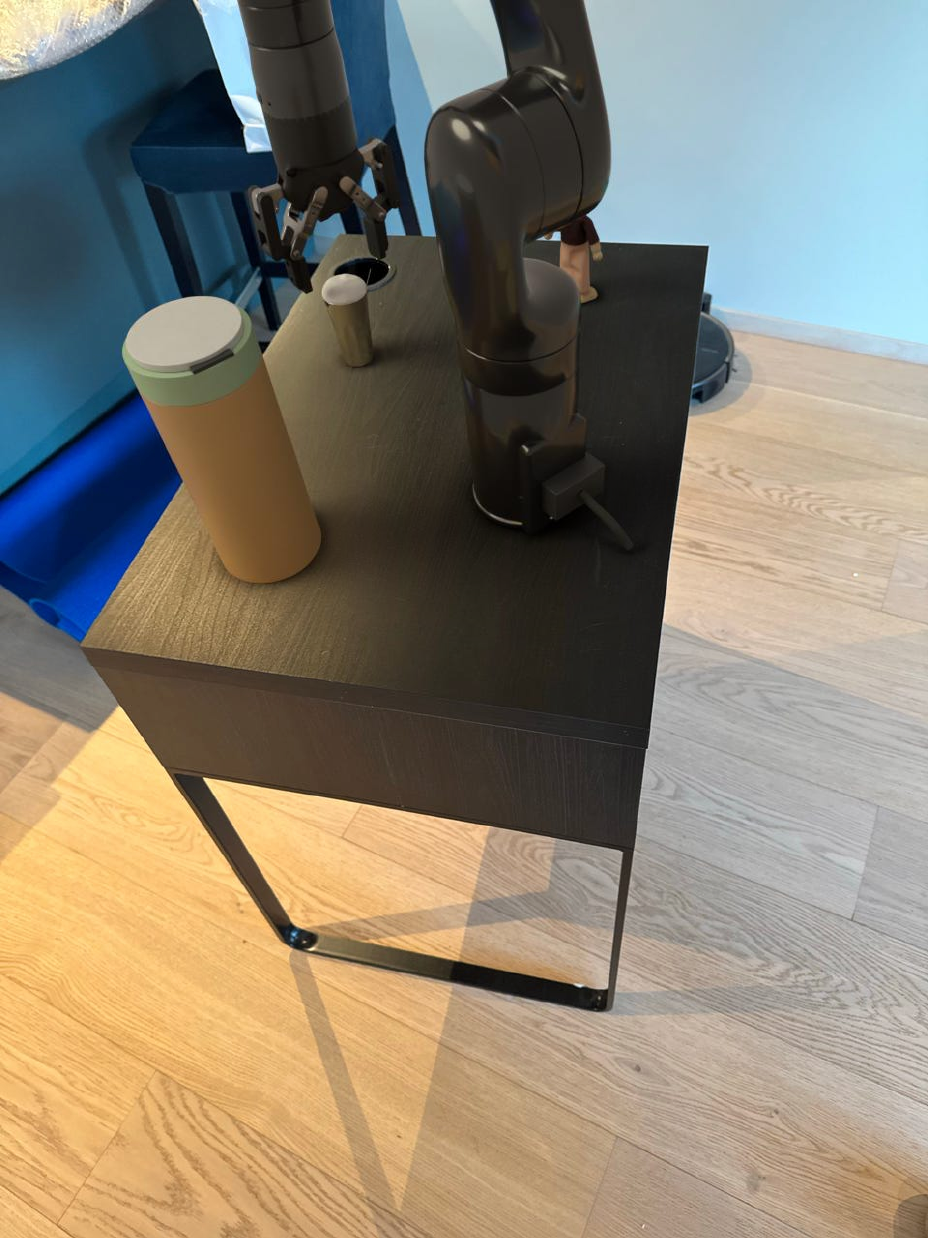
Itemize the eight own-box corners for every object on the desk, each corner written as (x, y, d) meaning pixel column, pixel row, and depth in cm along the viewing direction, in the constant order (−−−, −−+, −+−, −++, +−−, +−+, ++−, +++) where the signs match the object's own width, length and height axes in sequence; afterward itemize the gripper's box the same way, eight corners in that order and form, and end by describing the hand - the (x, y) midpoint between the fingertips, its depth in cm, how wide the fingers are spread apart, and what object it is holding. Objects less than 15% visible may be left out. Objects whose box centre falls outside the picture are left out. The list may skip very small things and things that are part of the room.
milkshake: (385, 369, 89) (368, 282, 81) (335, 372, 89) (314, 286, 81) (388, 343, 91) (372, 256, 83) (340, 346, 92) (320, 260, 84)
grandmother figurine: (611, 291, 94) (618, 174, 83) (596, 309, 92) (600, 192, 82) (551, 275, 96) (550, 161, 86) (534, 293, 95) (531, 178, 85)
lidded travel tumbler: (204, 541, 76) (98, 328, 58) (290, 494, 78) (213, 276, 61) (250, 600, 71) (149, 388, 54) (340, 548, 74) (272, 329, 56)
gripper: (250, 137, 66) (299, 318, 79) (398, 78, 70) (422, 259, 83) (208, 108, 70) (262, 285, 83) (351, 54, 74) (381, 230, 87)
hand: (342, 272), depth 83 cm, fingers open, 8 cm apart
